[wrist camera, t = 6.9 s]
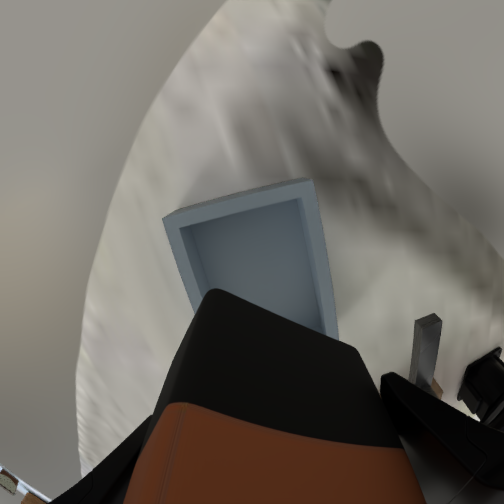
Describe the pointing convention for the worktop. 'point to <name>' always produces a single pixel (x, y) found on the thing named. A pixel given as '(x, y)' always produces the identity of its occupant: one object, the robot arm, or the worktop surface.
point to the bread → (31, 499)
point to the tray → (259, 252)
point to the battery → (268, 419)
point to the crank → (425, 351)
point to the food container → (8, 482)
